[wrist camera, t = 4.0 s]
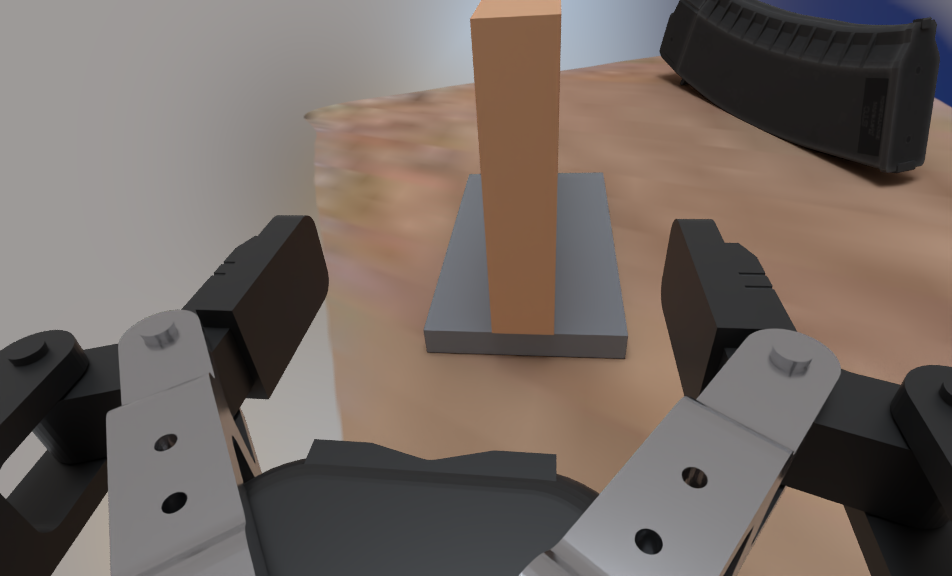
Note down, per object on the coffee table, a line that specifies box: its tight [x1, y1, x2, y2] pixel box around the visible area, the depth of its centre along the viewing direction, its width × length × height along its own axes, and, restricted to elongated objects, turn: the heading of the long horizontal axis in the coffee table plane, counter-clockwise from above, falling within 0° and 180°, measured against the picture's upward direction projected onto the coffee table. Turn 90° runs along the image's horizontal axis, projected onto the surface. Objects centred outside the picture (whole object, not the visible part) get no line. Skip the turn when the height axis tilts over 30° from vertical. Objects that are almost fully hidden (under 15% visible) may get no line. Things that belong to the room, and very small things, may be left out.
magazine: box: [660, 0, 940, 173], centre depth 47 cm, size 17×3×30 cm
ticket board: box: [424, 173, 628, 358], centre depth 30 cm, size 10×18×16 cm, turn 173°
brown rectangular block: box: [470, 0, 561, 335], centre depth 25 cm, size 3×8×14 cm, turn 173°
